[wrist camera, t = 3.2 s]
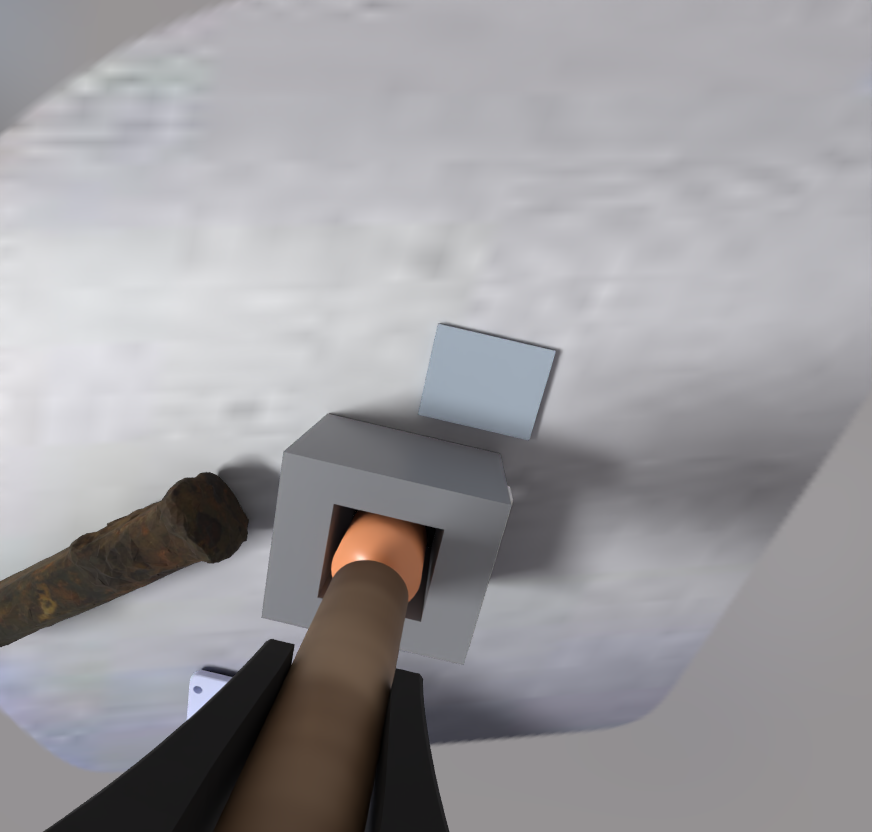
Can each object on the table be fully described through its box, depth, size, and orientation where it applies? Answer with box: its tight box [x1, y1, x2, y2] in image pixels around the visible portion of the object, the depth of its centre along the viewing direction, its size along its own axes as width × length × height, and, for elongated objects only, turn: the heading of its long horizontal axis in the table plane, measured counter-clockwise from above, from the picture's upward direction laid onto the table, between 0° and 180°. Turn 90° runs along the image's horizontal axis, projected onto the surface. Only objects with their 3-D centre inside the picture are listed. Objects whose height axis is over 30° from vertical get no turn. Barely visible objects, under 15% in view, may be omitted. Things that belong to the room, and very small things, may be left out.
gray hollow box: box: [261, 414, 513, 665], centre depth 18 cm, size 7×8×5 cm
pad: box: [418, 323, 556, 440], centre depth 19 cm, size 4×5×1 cm
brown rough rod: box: [0, 472, 249, 647], centre depth 21 cm, size 19×4×5 cm, turn 114°
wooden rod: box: [213, 560, 408, 832], centre depth 10 cm, size 3×3×9 cm
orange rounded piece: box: [331, 510, 427, 602], centre depth 17 cm, size 3×3×2 cm
